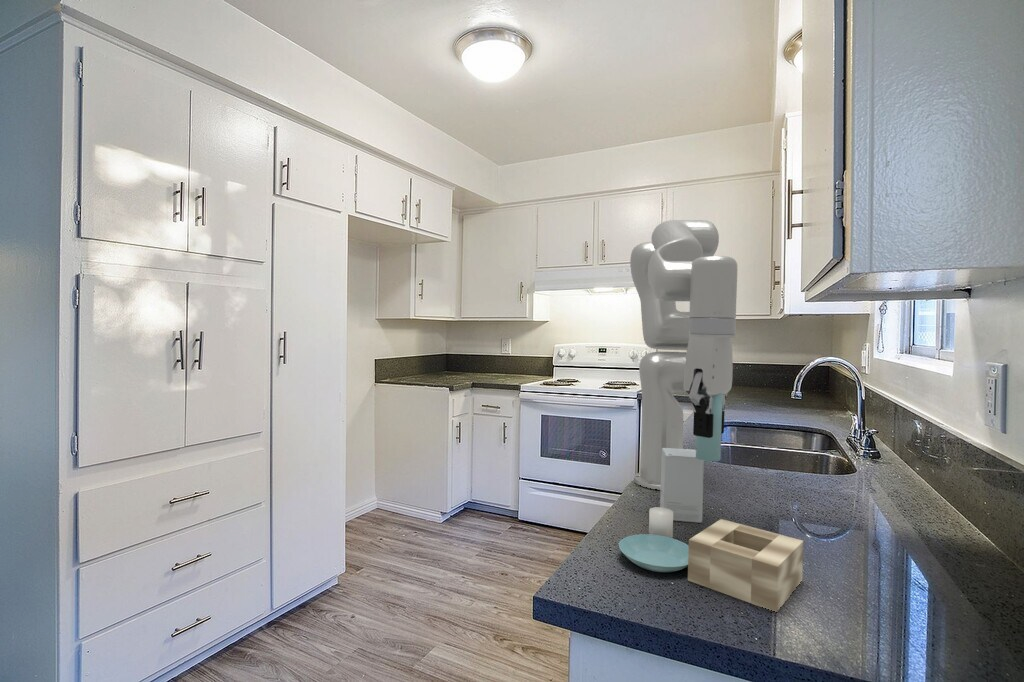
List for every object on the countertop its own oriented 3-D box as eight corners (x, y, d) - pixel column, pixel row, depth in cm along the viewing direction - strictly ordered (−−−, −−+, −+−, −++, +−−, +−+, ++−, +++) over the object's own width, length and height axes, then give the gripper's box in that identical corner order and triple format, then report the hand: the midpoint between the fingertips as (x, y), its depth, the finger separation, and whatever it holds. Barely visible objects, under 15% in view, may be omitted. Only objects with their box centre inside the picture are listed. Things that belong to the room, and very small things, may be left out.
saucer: (694, 552, 85) (694, 539, 85) (698, 586, 74) (699, 570, 74) (621, 543, 88) (621, 530, 88) (615, 574, 77) (615, 559, 77)
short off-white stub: (655, 533, 93) (656, 505, 93) (676, 539, 90) (677, 511, 90) (644, 539, 90) (645, 510, 90) (665, 546, 87) (666, 516, 87)
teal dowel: (701, 454, 92) (704, 376, 92) (724, 458, 89) (726, 378, 89) (691, 458, 89) (694, 377, 89) (714, 462, 86) (717, 379, 86)
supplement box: (703, 523, 98) (704, 457, 97) (662, 520, 99) (664, 454, 99) (697, 510, 105) (698, 449, 105) (659, 507, 106) (661, 446, 106)
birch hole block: (720, 555, 84) (721, 518, 84) (802, 581, 75) (803, 540, 75) (687, 580, 75) (688, 539, 75) (776, 612, 67) (777, 566, 67)
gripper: (710, 329, 97) (707, 425, 98) (668, 328, 85) (665, 438, 86) (751, 329, 92) (748, 431, 93) (713, 329, 80) (710, 445, 81)
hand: (708, 433), depth 89 cm, fingers closed on teal dowel, 4 cm apart
